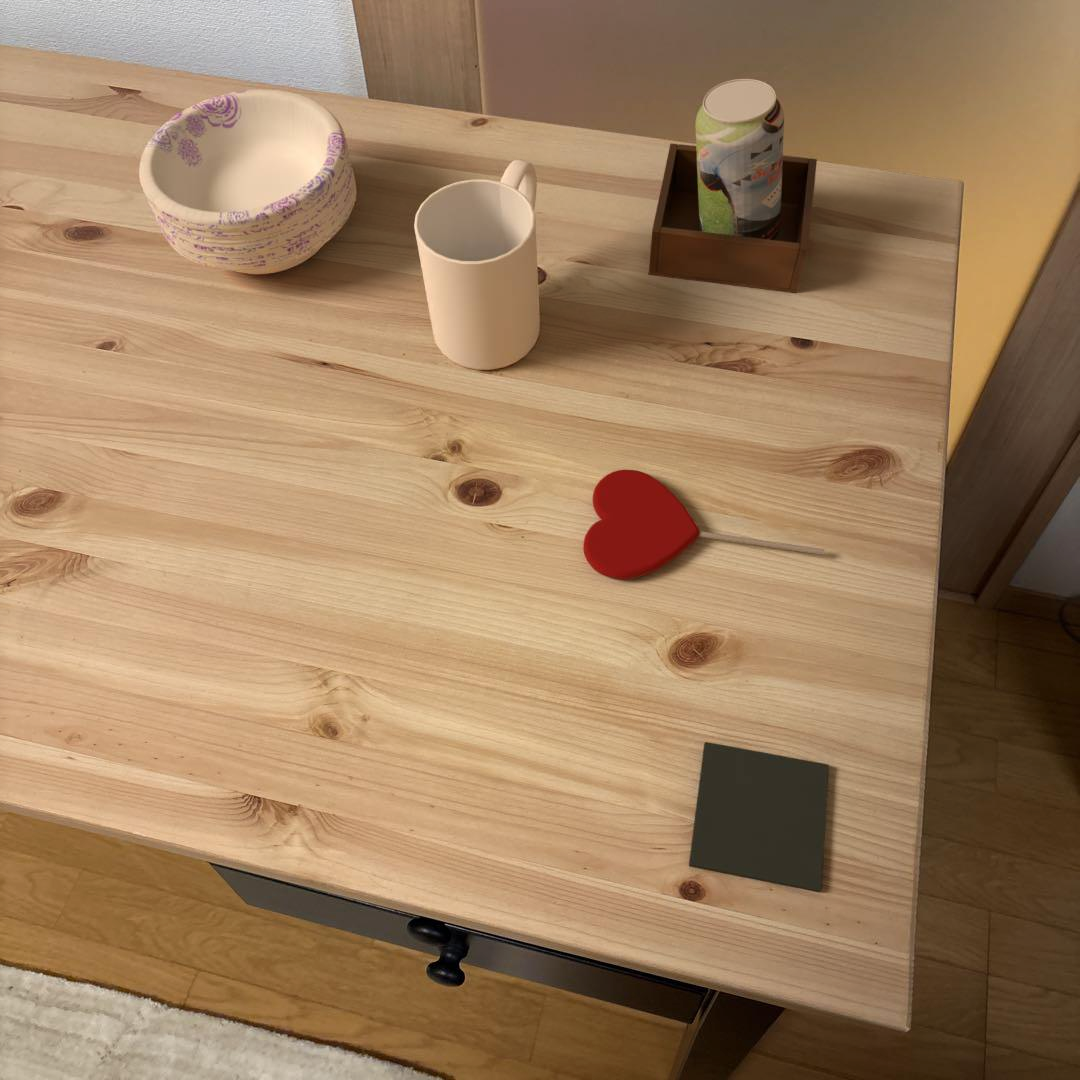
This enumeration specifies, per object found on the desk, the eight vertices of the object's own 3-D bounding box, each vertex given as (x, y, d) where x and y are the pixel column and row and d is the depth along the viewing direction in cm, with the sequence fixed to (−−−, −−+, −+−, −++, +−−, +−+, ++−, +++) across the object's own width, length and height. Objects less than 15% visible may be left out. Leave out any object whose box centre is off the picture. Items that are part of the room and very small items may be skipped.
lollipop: (825, 502, 65) (598, 470, 67) (828, 494, 65) (598, 462, 66) (819, 612, 61) (577, 575, 63) (822, 605, 61) (577, 568, 62)
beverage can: (765, 274, 76) (795, 139, 65) (671, 251, 77) (686, 116, 67) (785, 219, 78) (817, 81, 68) (695, 198, 80) (712, 60, 70)
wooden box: (805, 203, 80) (817, 158, 76) (796, 293, 75) (808, 249, 71) (666, 187, 81) (670, 142, 77) (648, 274, 76) (651, 231, 73)
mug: (512, 385, 71) (503, 277, 62) (414, 352, 73) (392, 243, 64) (579, 271, 77) (580, 156, 68) (487, 243, 79) (475, 127, 70)
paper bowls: (234, 151, 85) (204, 66, 78) (396, 192, 82) (379, 107, 75) (136, 274, 78) (94, 192, 71) (308, 324, 75) (281, 243, 68)
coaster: (827, 766, 57) (829, 764, 56) (819, 892, 53) (821, 891, 53) (704, 743, 58) (704, 741, 57) (688, 866, 54) (689, 864, 54)
